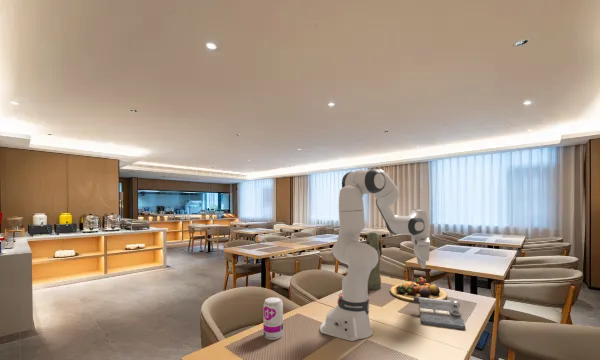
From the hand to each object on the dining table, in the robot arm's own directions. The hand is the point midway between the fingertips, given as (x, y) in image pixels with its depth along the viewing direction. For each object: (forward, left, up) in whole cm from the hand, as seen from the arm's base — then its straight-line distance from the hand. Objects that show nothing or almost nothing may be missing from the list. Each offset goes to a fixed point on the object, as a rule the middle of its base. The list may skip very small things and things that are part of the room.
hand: (421, 266), depth 155 cm
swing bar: (+6, -7, -16) cm, 19 cm away
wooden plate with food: (-2, +23, -23) cm, 32 cm away
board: (+8, -8, -22) cm, 25 cm away
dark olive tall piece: (-28, +27, -22) cm, 45 cm away
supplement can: (-60, -55, -22) cm, 84 cm away
